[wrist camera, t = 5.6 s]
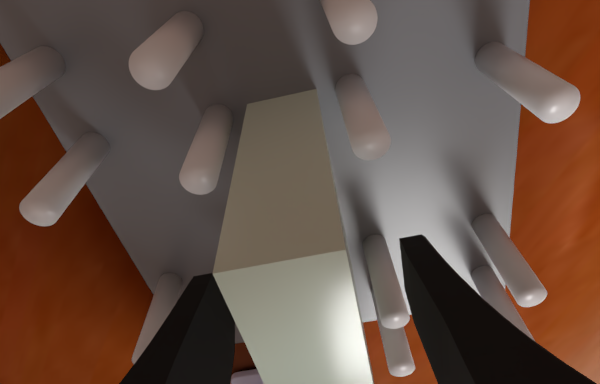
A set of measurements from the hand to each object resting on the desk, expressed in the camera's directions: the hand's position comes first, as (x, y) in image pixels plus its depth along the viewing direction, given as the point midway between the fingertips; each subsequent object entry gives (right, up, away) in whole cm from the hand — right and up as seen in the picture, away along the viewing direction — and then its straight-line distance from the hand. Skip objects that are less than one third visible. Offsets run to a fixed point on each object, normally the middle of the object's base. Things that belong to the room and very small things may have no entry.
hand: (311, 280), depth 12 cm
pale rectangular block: (0, +3, +4) cm, 5 cm away
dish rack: (0, +3, +5) cm, 6 cm away
